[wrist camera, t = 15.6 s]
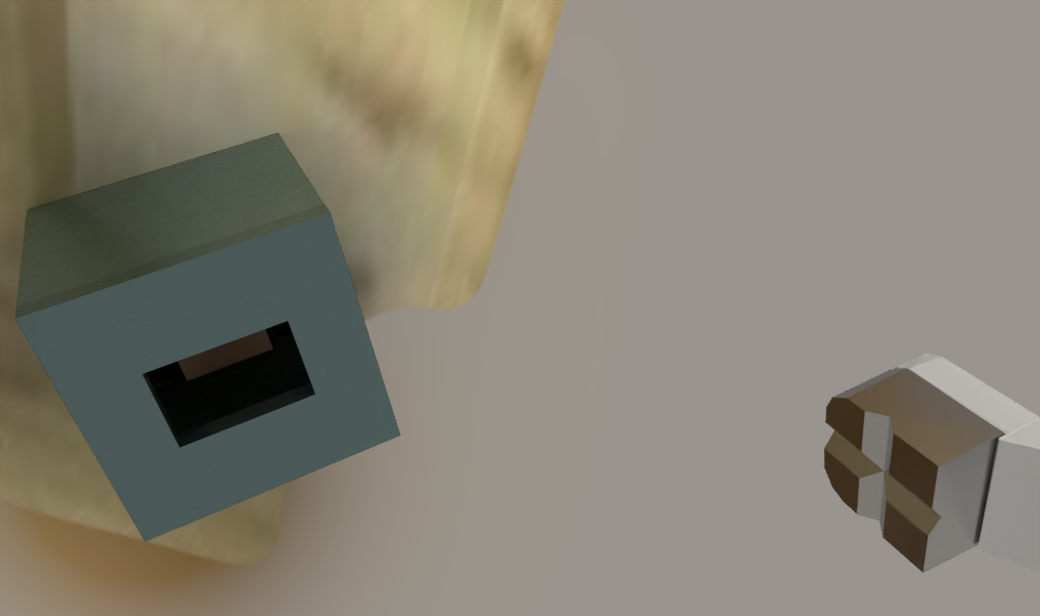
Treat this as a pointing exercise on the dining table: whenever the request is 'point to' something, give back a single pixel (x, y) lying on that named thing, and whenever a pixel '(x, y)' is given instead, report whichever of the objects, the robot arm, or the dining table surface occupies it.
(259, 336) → the walnut block
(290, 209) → the blue-gray slotted box
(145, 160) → the dining table surface
